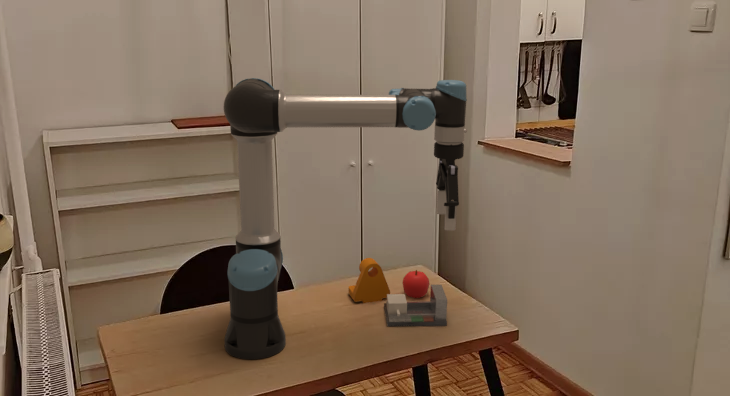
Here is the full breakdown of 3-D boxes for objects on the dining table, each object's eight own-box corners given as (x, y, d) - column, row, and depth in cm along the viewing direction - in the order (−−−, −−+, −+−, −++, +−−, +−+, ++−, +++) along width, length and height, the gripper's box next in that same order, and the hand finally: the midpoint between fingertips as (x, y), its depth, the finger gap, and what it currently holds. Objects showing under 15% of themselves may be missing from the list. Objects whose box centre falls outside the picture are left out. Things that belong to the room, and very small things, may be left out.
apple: (415, 287, 202) (416, 263, 199) (434, 296, 196) (435, 271, 194) (396, 294, 197) (397, 269, 195) (415, 303, 191) (416, 277, 189)
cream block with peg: (389, 321, 176) (389, 308, 175) (386, 307, 185) (386, 294, 184) (407, 321, 177) (408, 307, 176) (404, 307, 185) (404, 294, 184)
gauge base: (387, 326, 177) (387, 301, 175) (383, 307, 188) (384, 283, 186) (446, 325, 177) (447, 301, 175) (439, 306, 189) (440, 283, 187)
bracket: (381, 290, 200) (382, 253, 196) (390, 300, 193) (390, 261, 190) (347, 294, 196) (347, 256, 193) (354, 304, 190) (355, 265, 186)
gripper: (473, 152, 156) (469, 237, 162) (455, 133, 180) (451, 207, 186) (442, 152, 156) (438, 237, 162) (427, 133, 180) (425, 207, 186)
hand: (445, 221), depth 174 cm, fingers open, 13 cm apart
